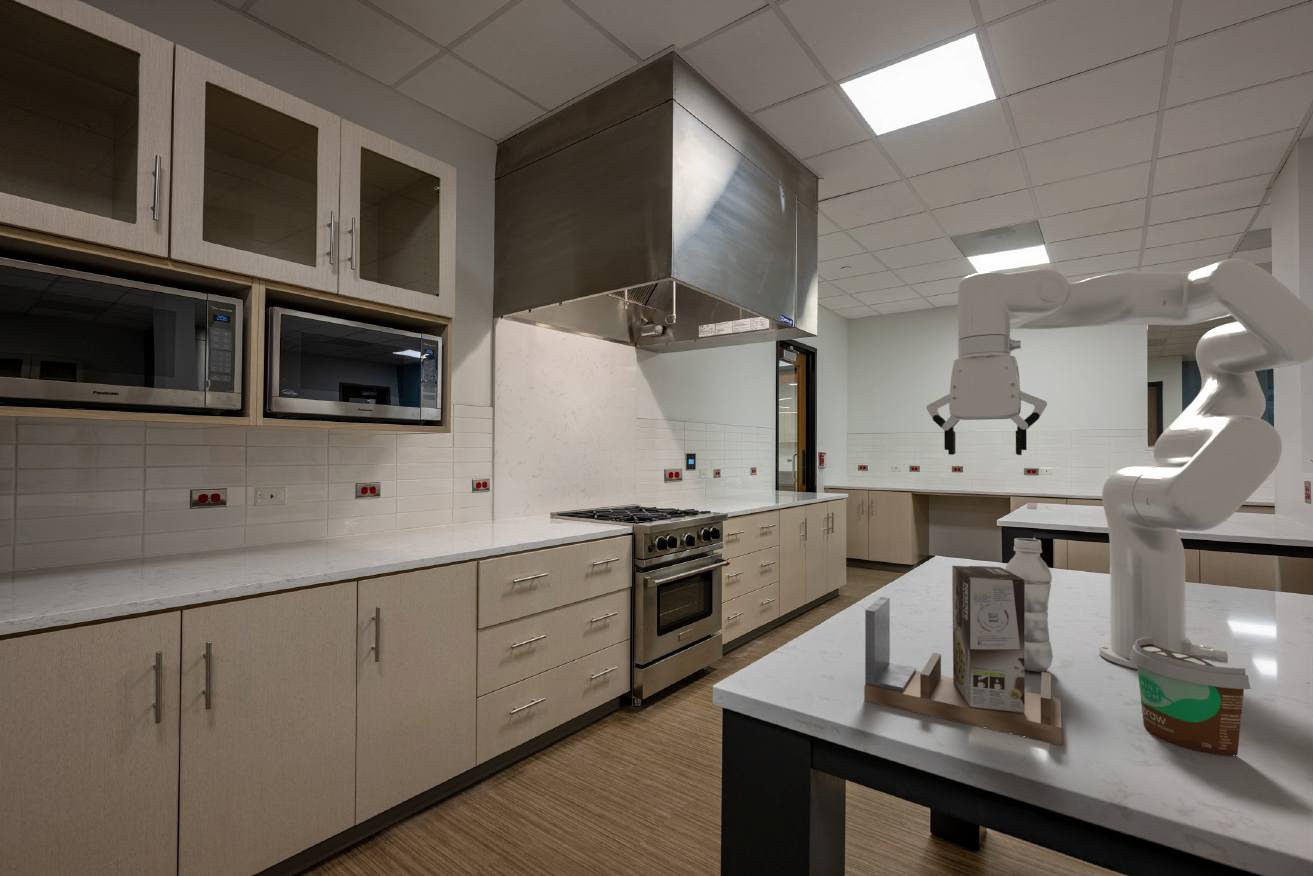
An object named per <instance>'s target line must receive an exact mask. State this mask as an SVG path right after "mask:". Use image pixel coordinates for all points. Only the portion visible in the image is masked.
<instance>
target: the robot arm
mask: <svg viewBox="0 0 1313 876" xmlns="http://www.w3.org/2000/svg"><path fill="white" fill-rule="evenodd" d="M1229 316H1231V317H1232V318H1234V320H1235V321H1232V322H1228V323H1225V324H1222V325H1219V326H1216V327H1215V328H1212V329H1211V330H1208V331H1207V332H1206V333H1204V334H1203V335H1202V337H1200V339H1199V340H1198V343H1197V344H1196V349H1195V359H1196V363H1197V366H1198V370H1199V373H1200V374H1199V375H1200V377H1201V388H1200V391H1199V393H1198V394H1197V395H1196V397H1195V398H1194V399H1193V400H1192V401H1191V403H1190V404H1189V405H1187V407H1186V408H1185V409H1183V411H1181V412H1182V413H1180V414H1179V415H1178V416H1177V417H1176V418H1175V419H1174V421H1172V422H1171V423H1170V424H1169V425H1168V427H1167V428H1166V429H1165V430H1164V431H1163V432H1162V433H1161V434H1160V435H1159V437H1158V438H1157V440H1156V442H1155V443H1154V447H1153V457H1154V460H1155V462H1156V463H1157V464H1158V465H1133V466H1127V467H1123V468H1121V469H1119V470H1117V471H1114V473H1112V474H1110V475H1109V477H1108V478H1107V480H1106V481H1105V483H1104V484H1103V488H1102V491H1101V493H1102V494H1101V495H1102V496H1101V498H1102V499H1101V500H1102V506H1103V510H1104V513H1105V517H1106V522H1107V527H1108V537H1109V588H1110V589H1109V598H1110V599H1109V607H1110V608H1109V611H1110V613H1109V615H1110V617H1109V618H1110V619H1109V620H1110V626H1109V627H1110V642H1106V643H1103V644H1100V645H1099V647H1098V653H1099V656H1102V657H1103V658H1104V659H1106V660H1107V661H1110V662H1112V663H1115V664H1116V665H1117V664H1118V665H1121V666H1124V667H1128V668H1132V669H1134V670H1138V668H1137V665H1136V664H1135V663H1133V662H1132V661H1131V660H1130V655H1131V651H1132V647H1133V645H1135V642H1136V640H1138V639H1141V638H1148V637H1153V641H1154V645H1155V646H1158V647H1161V648H1164V649H1167V650H1170V651H1173V652H1177V653H1183V654H1188V655H1192V656H1195V657H1198V658H1200V659H1202V660H1204V661H1210V662H1213V663H1220V664H1221V663H1222V664H1228V661H1229V656H1228V651H1227V650H1225V649H1218V648H1213V646H1210V645H1199V644H1194V643H1193V642H1191V640H1190V639H1189V638H1188V636H1187V616H1186V612H1187V610H1186V609H1187V606H1186V601H1187V600H1186V599H1187V598H1186V596H1187V595H1186V565H1187V564H1186V554H1185V553H1186V552H1185V549H1184V545H1183V544H1184V543H1183V542H1182V539H1181V537H1180V535H1179V532H1178V530H1179V531H1187V532H1204V531H1208V530H1212V529H1214V528H1217V527H1218V526H1220V525H1222V524H1223V523H1225V522H1226V521H1227V520H1228V519H1230V518H1231V516H1233V515H1234V514H1235V512H1236V511H1238V510H1239V509H1240V507H1242V506H1243V504H1245V502H1246V501H1247V500H1248V499H1249V498H1250V497H1251V496H1252V495H1253V494H1254V493H1255V492H1256V491H1257V490H1258V489H1259V487H1260V486H1261V485H1263V483H1264V482H1265V481H1267V479H1268V478H1269V477H1270V475H1272V474H1273V472H1274V471H1275V469H1276V468H1277V466H1278V464H1279V462H1280V459H1281V456H1282V451H1283V449H1282V439H1281V437H1280V434H1279V432H1278V431H1277V429H1276V428H1275V427H1274V426H1273V425H1272V424H1270V422H1268V421H1266V420H1264V419H1263V418H1262V417H1263V415H1264V413H1265V411H1266V408H1267V403H1266V397H1265V395H1264V391H1263V390H1262V387H1261V384H1260V382H1259V378H1258V377H1257V373H1256V372H1258V371H1265V370H1272V369H1279V368H1285V367H1293V366H1297V365H1298V366H1299V365H1300V364H1304V363H1307V362H1309V361H1311V360H1313V309H1312V308H1311V307H1309V305H1307V303H1305V302H1304V301H1303V300H1302V299H1300V298H1299V297H1298V295H1296V294H1295V293H1293V292H1292V291H1291V290H1290V289H1289V288H1288V287H1287V286H1286V285H1285V284H1283V283H1282V282H1281V281H1279V279H1277V278H1276V277H1275V276H1273V275H1272V274H1271V273H1270V272H1268V271H1266V270H1265V269H1263V268H1262V267H1260V266H1258V265H1257V264H1255V263H1253V262H1250V261H1248V260H1245V259H1241V258H1228V259H1224V260H1220V261H1218V262H1215V263H1212V264H1208V265H1206V266H1203V267H1200V268H1198V269H1195V270H1190V271H1178V272H1177V271H1174V272H1173V271H1167V272H1166V271H1157V272H1156V271H1127V270H1126V271H1117V272H1111V273H1107V274H1101V275H1099V276H1094V277H1092V278H1091V277H1090V278H1087V279H1084V280H1080V281H1077V282H1076V281H1075V282H1072V283H1071V282H1069V280H1068V279H1067V277H1065V275H1064V274H1062V273H1060V272H1058V271H1057V270H1053V269H1049V268H1038V269H1031V270H1024V271H1016V272H1010V273H1008V272H1007V273H1002V272H998V271H985V272H984V271H983V272H978V273H973V274H971V275H967V276H965V277H963V278H962V279H961V280H960V282H959V284H958V288H957V322H958V323H957V326H958V327H957V329H958V330H957V331H958V332H957V336H958V337H957V347H958V349H957V350H958V351H957V352H958V353H957V355H958V357H957V359H954V361H953V364H952V369H951V376H950V383H949V384H950V386H949V394H947V395H944V396H942V397H941V398H939V399H937V400H935V401H933V402H931V403H929V404H927V405H926V411H927V412H928V414H929V415H930V417H931V418H932V421H933V422H934V423H935V424H937V426H939V427H940V428H941V429H942V431H944V432H943V433H944V436H943V437H944V438H943V439H944V445H943V446H944V450H946V451H948V455H949V456H950V455H952V456H953V455H956V431H955V430H954V428H955V426H956V425H957V424H958V423H959V422H960V421H961V420H963V421H972V420H973V421H974V420H976V421H977V420H980V421H981V420H983V421H987V420H1009V419H1010V420H1011V421H1013V422H1014V424H1016V425H1017V427H1016V429H1017V430H1015V455H1017V456H1022V454H1023V451H1027V447H1028V446H1027V430H1028V429H1029V428H1030V427H1031V426H1033V425H1034V423H1036V422H1037V421H1038V420H1039V419H1040V417H1041V416H1042V415H1043V413H1044V411H1045V409H1046V407H1048V406H1047V405H1048V402H1047V401H1046V400H1044V399H1043V398H1042V399H1041V398H1040V397H1037V396H1034V395H1032V394H1029V393H1026V392H1024V391H1022V390H1021V382H1020V373H1019V366H1018V361H1017V358H1016V357H1015V356H1014V355H1011V353H1013V351H1016V350H1021V349H1022V346H1021V342H1022V341H1021V340H1015V339H1013V338H1011V330H1050V329H1051V330H1052V329H1053V330H1054V329H1069V328H1087V327H1088V328H1089V327H1090V328H1091V327H1103V326H1112V325H1117V326H1118V325H1119V326H1120V325H1121V326H1122V325H1126V326H1127V325H1128V326H1130V325H1133V326H1134V325H1136V326H1138V325H1139V326H1140V325H1141V326H1149V325H1150V326H1187V325H1195V324H1200V323H1205V322H1210V321H1212V320H1217V319H1221V318H1225V317H1229ZM1021 401H1022V402H1024V403H1026V404H1030V405H1032V406H1034V409H1033V410H1032V412H1031V413H1030V414H1029V415H1028V416H1027V417H1026V418H1025V419H1024V418H1022V417H1021V416H1020V413H1021V409H1022V407H1021V405H1022V402H1021ZM947 405H949V407H948V408H949V415H950V416H949V417H948V418H947V420H945V419H944V418H943V417H942V416H941V414H940V413H939V409H940V408H942V407H944V406H947Z"/></svg>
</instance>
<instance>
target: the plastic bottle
mask: <svg viewBox="0 0 1313 876" xmlns="http://www.w3.org/2000/svg"><path fill="white" fill-rule="evenodd" d="M1013 543H1014V546H1013V551H1014V552H1015V554H1014V555H1013V557H1012V558H1011V559H1010V560H1009V561H1008V563H1007V564H1006V566H1005V568H1004V569H1005V570H1007V571H1009V572H1011V573H1013V574H1015V575H1017V576H1019V577H1021V578H1022V579H1024V580H1025V629H1024V632H1025V658H1024V659H1025V671H1030V672H1045V671H1047V670H1048V671H1049V668H1050V667H1051V666H1052V662H1053V658H1054V656H1053V648H1052V644H1051V641H1050V630H1049V620H1048V619H1049V617H1048V616H1049V613H1048V611H1049V602H1050V601H1049V600H1050V595H1051V587H1052V581H1053V580H1052V579H1053V576H1052V573H1051V569H1050V568H1049V566H1048V565H1047V563H1046V562H1045V561H1044V559H1043V558H1042V557H1041V554H1042V553H1043V549H1042V541H1041V540H1040V539H1035V538H1027V537H1026V538H1022V537H1020V538H1019V537H1017V538H1014V542H1013Z"/></svg>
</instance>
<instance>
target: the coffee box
mask: <svg viewBox="0 0 1313 876" xmlns="http://www.w3.org/2000/svg"><path fill="white" fill-rule="evenodd" d="M951 567H952V568H951V569H952V571H951V572H952V573H951V574H952V576H951V577H952V581H951V582H952V583H951V584H952V588H951V589H952V592H951V593H952V595H951V596H952V661H953V662H952V665H953V666H952V671H953V672H952V675H953V676H952V678H953V682H954V684H955V685H956V687H957V688H958V690H959V691H960V692H961V694H962V695H963V697H964V698H965V700H966V701H967V703H968V704H969V705H970V707H975V708H984V709H994V710H1003V711H1011V712H1019V713H1023V712H1024V711H1025V692H1026V690H1025V688H1026V686H1025V685H1026V684H1025V683H1026V682H1025V676H1026V675H1025V671H1026V670H1025V659H1024V658H1025V632H1024V629H1025V580H1024V579H1022V578H1021V577H1019V576H1017V575H1015V574H1013V573H1011V572H1009V571H1007V570H1005V568H1003V567H1001V566H986V565H985V566H984V565H983V566H981V565H980V566H979V565H967V566H964V565H952V566H951Z"/></svg>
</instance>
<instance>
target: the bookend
mask: <svg viewBox="0 0 1313 876" xmlns="http://www.w3.org/2000/svg"><path fill="white" fill-rule="evenodd" d="M890 599H891V598H890V597H885V596H884V597H883V596H880V597H879V598H878V599H877V600H875V601H874V602H873V603H872V604H870V605H869V607H867V608H866V609H865V613H864V614H865V619H864V620H865V622H864V623H865V629H864V630H865V636H864V637H865V640H864V641H865V644H864V645H865V648H864V649H865V651H864V652H865V654H864V655H865V659H864V660H865V662H864V663H865V664H864V665H865V667H864V668H865V669H864V672H865V673H864V674H865V675H864V676H865V677H864V678H865V680H864V681H865V682H864V683H865V684H866V685H871V686H875V687H880V688H885V689H889V690H894V691H899V692H904V690H905V688H906V687H907V685H908V684H909V682H910V681H911V679H912V677H913V676H914V674H915V673H916V671H917V667H915V666H909V665H904V664H900V663H899V664H898V663H893V662H891V661H890V657H891V656H890V654H891V653H890V651H891V650H890V649H891V647H890V646H891V643H890V641H891V639H890V638H891V636H890V635H891V633H890V631H891V629H890V628H891V627H890V625H891V624H890V623H891V622H890V618H891V617H890V613H891V612H890V610H891V609H890V607H891V605H890V604H891V602H890V601H891V600H890ZM865 684H864V685H865Z"/></svg>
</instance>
